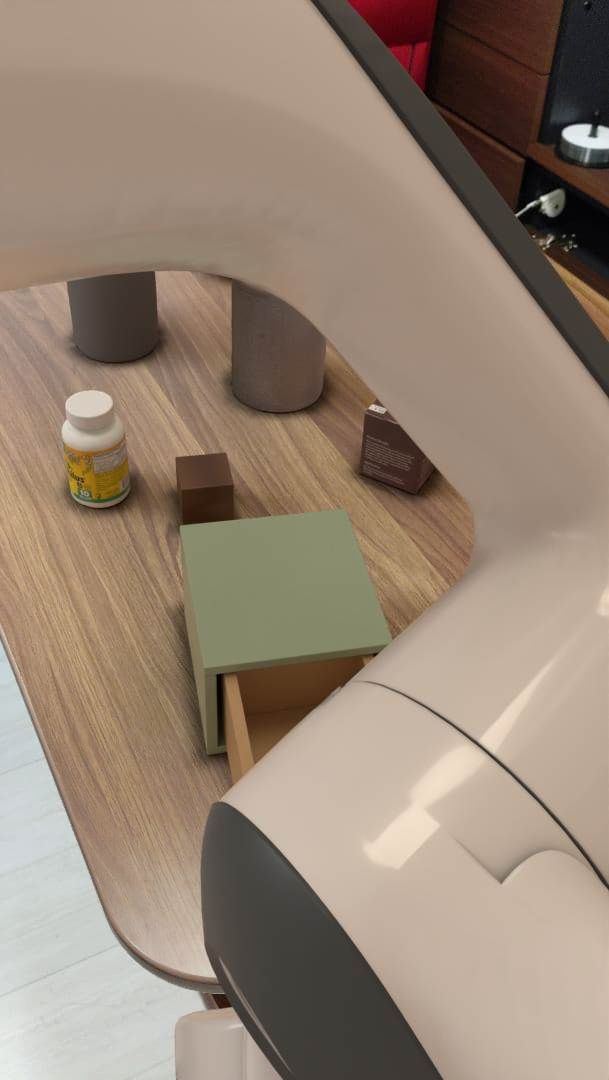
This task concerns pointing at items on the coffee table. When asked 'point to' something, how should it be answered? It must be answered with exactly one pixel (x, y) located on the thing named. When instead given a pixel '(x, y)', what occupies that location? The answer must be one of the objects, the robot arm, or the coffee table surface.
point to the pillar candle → (273, 352)
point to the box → (391, 452)
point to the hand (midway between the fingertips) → (383, 1007)
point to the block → (205, 488)
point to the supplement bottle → (95, 450)
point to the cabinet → (274, 599)
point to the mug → (115, 315)
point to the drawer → (275, 704)
